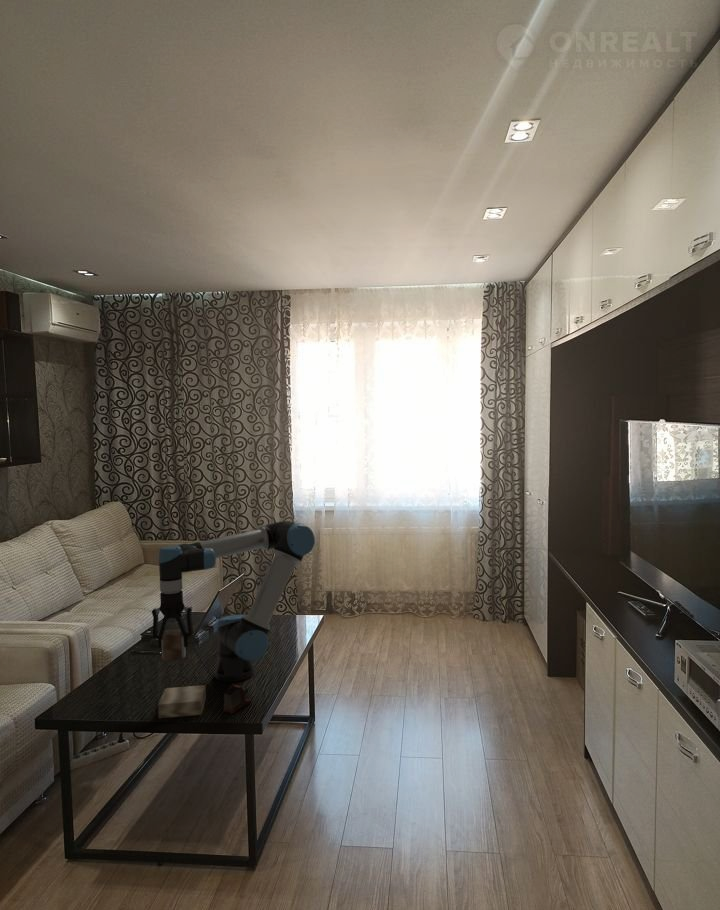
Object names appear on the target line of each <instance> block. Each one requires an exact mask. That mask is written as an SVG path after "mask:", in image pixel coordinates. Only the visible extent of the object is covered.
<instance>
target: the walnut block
mask: <svg viewBox="0 0 720 910" xmlns="http://www.w3.org/2000/svg"><path fill="white" fill-rule="evenodd" d="M182 637H183V635H182V632H181V630H180V628H179V629H178V628H177V629H165V632H164V634H163V635H162V638H163V662H171V661H182V659H183V658H182V645H181V639H182Z"/></svg>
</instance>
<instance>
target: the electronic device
mask: <svg viewBox="0 0 720 910" xmlns="http://www.w3.org/2000/svg"><path fill="white" fill-rule="evenodd" d="M248 692H249V688H248V687H246V686H245V687H243V686H242V685H239V684H234V685H233V686H231V687H230V688H229V689H227V690H226V691H225V692H224V693H223V712H225V713H230V714H234V713H236V712H238V711H240V710H241V709H242V708H244V707H245V706H249V705H250V704H251V702H252V700H251V699H248V698H246V695H247V694H248Z"/></svg>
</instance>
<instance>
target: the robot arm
mask: <svg viewBox="0 0 720 910" xmlns="http://www.w3.org/2000/svg"><path fill="white" fill-rule="evenodd" d="M315 541H316V538H315V534H314V532H313V530H312V529H311V528H310V526H307V525H305V524H304V523H300V522H293V521H290V520H283V521H278V522H277V521H276V522H273V523H268V524H265V525H261V526H259V527H258V528H257V529H254V530H249V531H246V532H245V531H244V532H240V533H235V534H231V535H230V534H229V535H227V536H226V535H225V536H221V537H216V538H212V539H207V540H202V541H198V542H193V543H186V542H185V543H179V544H178V545H172V546H171V545H169V546H163V547H161V548H159V551H158V568H159V569H158V571H159V591H160V594H159V595H160V596H159V597H160V606H159V607H157V608H155V607H154V608H153V609H152V610H151V614H152V619H153V622H152V638H153V639H157V640H158V649H161V659H163V638H162V635H163V634H164V632H165V631H166V627H167V624H168V620H169V619H176V621H177V624H178V628H179V629H180V630H181V632H182V635H183V637H182V639H181V645H182V659H183V658H185V657H186V656H187V655H186V654H187V653H186V651H187V650H186V648H187V647H188V646H189V637H192V636H193V634H194V629H193V617H192V611H193V607H192V606H185V604H184V595H183V594H184V593H183V589H184V588H183V573H189V572H190V573H191V572H197V571H206V570H209V569H213V568H214V567H215V566H216V562H217V561H216V560H217V559H219V558H223V557H228V556H231V555H232V556H234V555H237V554H242V553H246V552H251V551H254V550H259V549H261V550H264V551H267V550H273V553H274V558H273V560H272V562H271V564H270V566H269V569H268V570H267V573H266V575H265V577H264V579H263V581H262V583H261V585H260V588H259V590H258V592H257V594H256V596H255V598H254V600H253V603H252V605H251V607H250V609H249V611H248V613H247V614H233V615H232V614H231V615H226V616H223V617H221V618H219V619H218V620H217V625H216V626H217V627H216V629H217V639H218V640H217V645H218V647H217V648H218V659H217V662H216V666H215V670H214V678H215V680H218V681H220V682H224V683H226V682H227V683H229V682H230V683H232V682H240V681H245V680H247V679H250V678H252V677H253V676H254V675H255V665H254V664H253V663H254V662H253V661H256V660H259V659H260V658H262V657H263V656H264V655H265V654H266V653H267V650H268V648H269V638H268V635H269V633H270V631H271V627H270V621H271V619H272V617H273V615H274V612H275V610H276V608H277V606H278V604H279V601H280V600H281V598H282V595H283V592H284V590H285V589H286V586H287V584H288V582H289V580H290V577H291V575H292V573H293V571H294V569H295V567H296V565H299V563H300V564H301V562H302V560H303V558H304V556H306V555H307V554H310V552H312V551H313V550H314V549H313V548H314V546H315V543H316V542H315ZM183 611H184V613H185V614H186V623H187V628H186V625H185V623H184V620H183V615H182V612H183ZM160 612H161V614H162V615H163V618H162V622H161V625H160V630H159V614H160Z"/></svg>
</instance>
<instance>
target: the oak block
mask: <svg viewBox="0 0 720 910" xmlns="http://www.w3.org/2000/svg"><path fill="white" fill-rule="evenodd" d="M206 685H207V684H202V685H189V686H179V687H178V686H176V687H167V688H164V690H163V693H162V694H161V697H160V700H159V701H158V704H157V711H158V719H165V718H177V717H189V716H190V717H191V716H200V715H202V714H203V710H204V707H205V704H206V699H207V687H206Z"/></svg>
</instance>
